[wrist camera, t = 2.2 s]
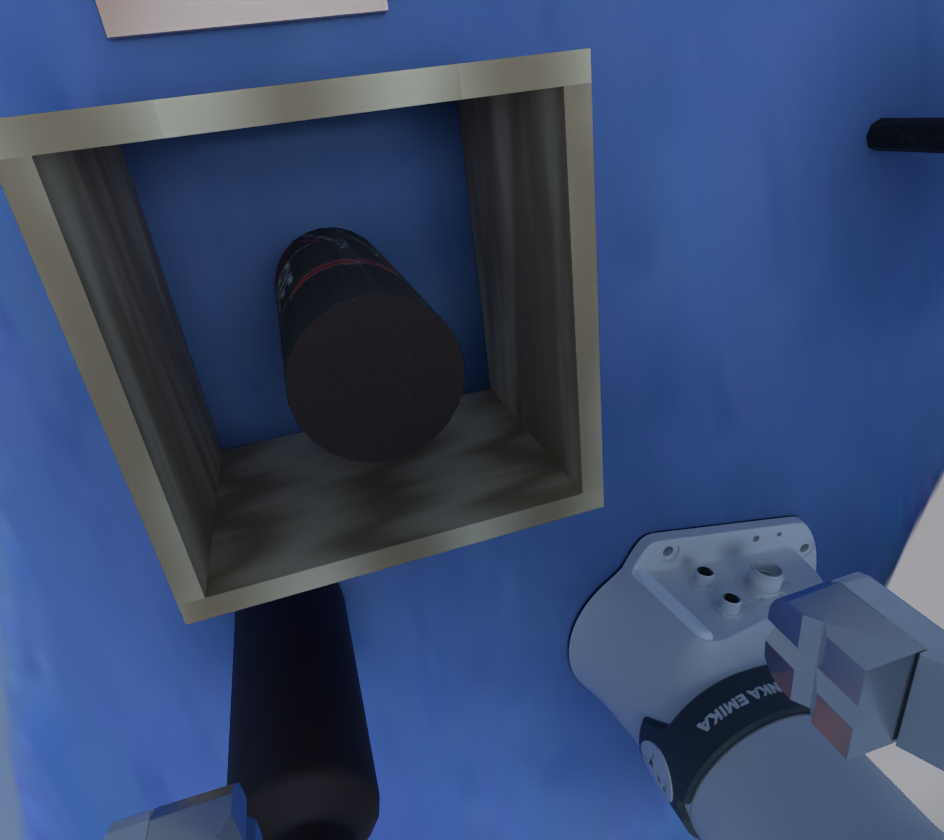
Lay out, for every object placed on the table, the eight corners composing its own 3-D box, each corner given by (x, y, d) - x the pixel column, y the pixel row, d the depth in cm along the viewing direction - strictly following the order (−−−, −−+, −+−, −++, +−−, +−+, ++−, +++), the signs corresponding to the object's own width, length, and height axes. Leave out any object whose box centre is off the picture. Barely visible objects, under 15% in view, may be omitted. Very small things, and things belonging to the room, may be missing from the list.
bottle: (334, 552, 41) (389, 865, 24) (351, 632, 44) (412, 963, 27) (223, 578, 40) (195, 935, 22) (249, 659, 43) (242, 1030, 25)
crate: (474, 75, 32) (590, 47, 21) (507, 399, 40) (604, 506, 29) (87, 122, 28) (-26, 120, 17) (208, 470, 36) (186, 625, 25)
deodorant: (275, 222, 32) (285, 288, 19) (392, 232, 34) (474, 298, 21) (274, 336, 35) (284, 464, 22) (384, 339, 36) (454, 459, 23)
